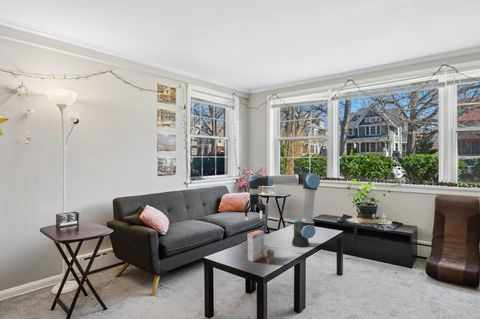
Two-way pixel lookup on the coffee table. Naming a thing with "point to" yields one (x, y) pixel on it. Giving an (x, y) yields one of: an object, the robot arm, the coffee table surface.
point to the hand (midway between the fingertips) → (254, 219)
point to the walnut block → (270, 256)
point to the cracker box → (255, 245)
